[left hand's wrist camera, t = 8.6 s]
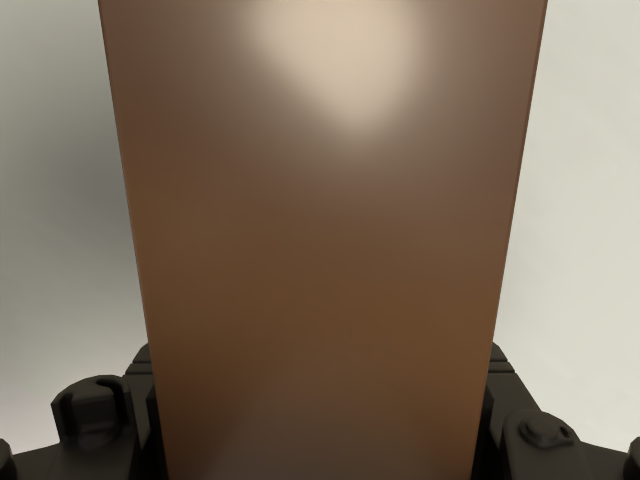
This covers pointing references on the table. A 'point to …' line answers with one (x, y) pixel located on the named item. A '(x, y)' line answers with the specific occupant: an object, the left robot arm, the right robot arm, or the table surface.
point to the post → (321, 224)
